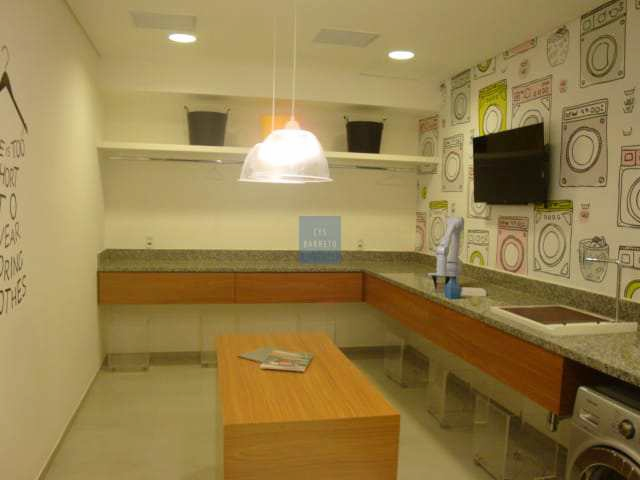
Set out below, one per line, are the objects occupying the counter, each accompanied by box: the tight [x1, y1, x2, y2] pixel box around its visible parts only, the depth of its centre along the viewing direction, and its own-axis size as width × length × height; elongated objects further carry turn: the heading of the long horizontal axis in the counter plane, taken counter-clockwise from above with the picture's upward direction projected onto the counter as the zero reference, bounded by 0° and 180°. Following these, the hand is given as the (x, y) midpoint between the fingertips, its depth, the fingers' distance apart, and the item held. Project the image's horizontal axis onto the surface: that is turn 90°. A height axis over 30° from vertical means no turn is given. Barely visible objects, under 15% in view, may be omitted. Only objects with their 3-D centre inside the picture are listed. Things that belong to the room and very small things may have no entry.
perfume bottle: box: [444, 276, 462, 300], centre depth 288 cm, size 6×6×12 cm
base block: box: [461, 286, 487, 297], centre depth 304 cm, size 12×12×3 cm
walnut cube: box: [435, 282, 446, 294], centre depth 306 cm, size 5×5×5 cm
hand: (440, 289), depth 306 cm, fingers closed on walnut cube, 5 cm apart
